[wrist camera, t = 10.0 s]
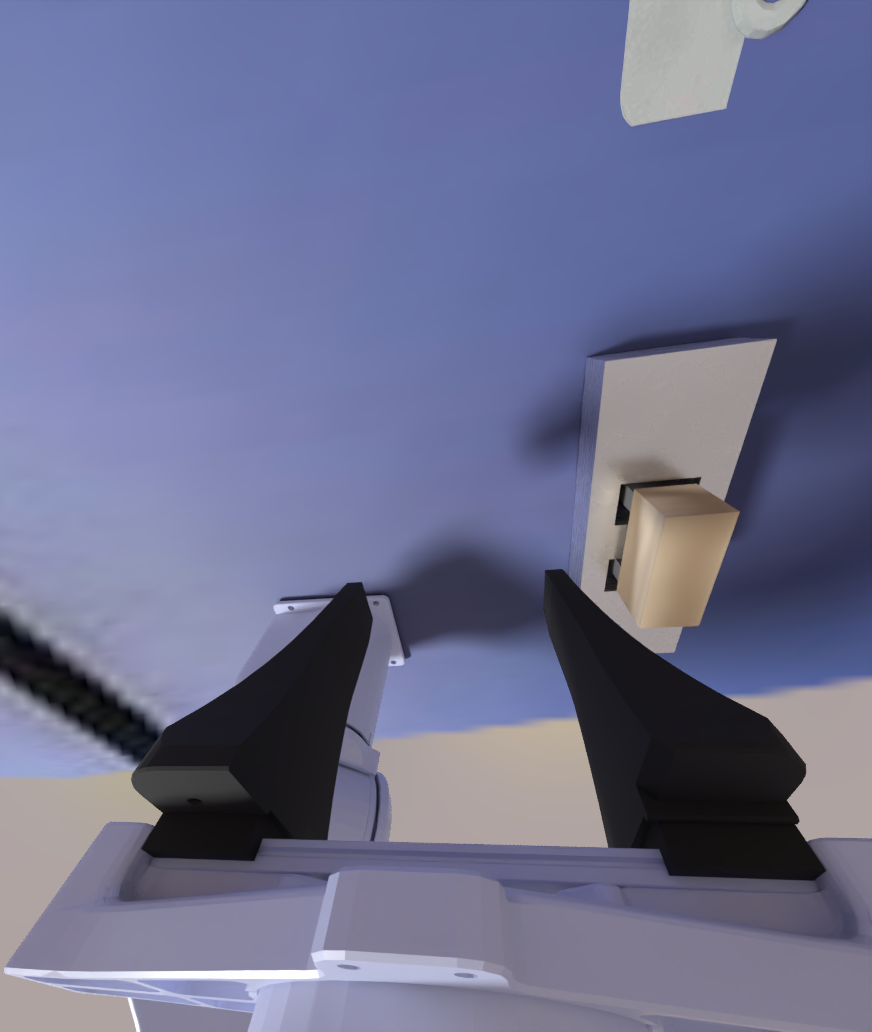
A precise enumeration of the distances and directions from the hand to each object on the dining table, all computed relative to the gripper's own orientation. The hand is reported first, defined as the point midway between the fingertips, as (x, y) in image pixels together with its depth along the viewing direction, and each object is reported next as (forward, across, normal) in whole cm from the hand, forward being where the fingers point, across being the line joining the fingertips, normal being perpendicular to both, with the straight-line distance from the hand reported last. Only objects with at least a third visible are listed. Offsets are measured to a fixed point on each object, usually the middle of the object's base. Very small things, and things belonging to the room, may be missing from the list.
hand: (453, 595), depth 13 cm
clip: (+9, -11, +3) cm, 15 cm away
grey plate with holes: (+9, -11, +3) cm, 15 cm away
